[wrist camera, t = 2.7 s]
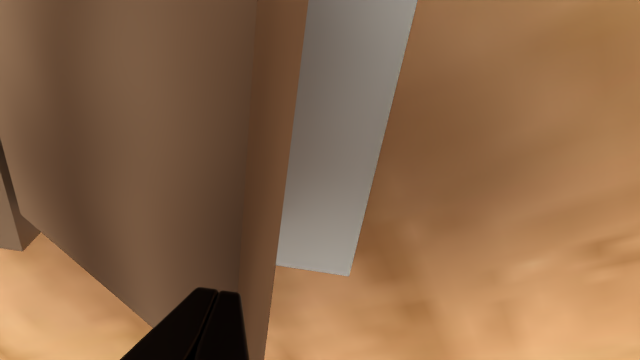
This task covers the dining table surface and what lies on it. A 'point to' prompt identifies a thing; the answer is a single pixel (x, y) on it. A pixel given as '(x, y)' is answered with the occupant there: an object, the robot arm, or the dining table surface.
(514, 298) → the dining table surface
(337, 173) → the underlay
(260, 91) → the plank
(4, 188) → the laid strip
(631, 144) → the dining table surface
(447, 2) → the dining table surface
